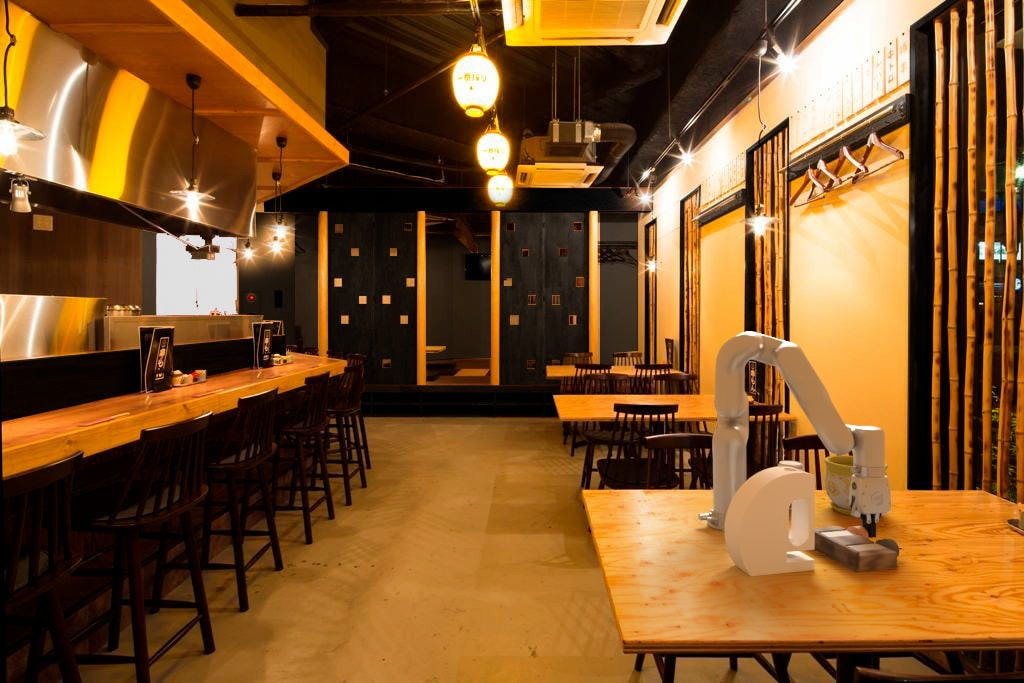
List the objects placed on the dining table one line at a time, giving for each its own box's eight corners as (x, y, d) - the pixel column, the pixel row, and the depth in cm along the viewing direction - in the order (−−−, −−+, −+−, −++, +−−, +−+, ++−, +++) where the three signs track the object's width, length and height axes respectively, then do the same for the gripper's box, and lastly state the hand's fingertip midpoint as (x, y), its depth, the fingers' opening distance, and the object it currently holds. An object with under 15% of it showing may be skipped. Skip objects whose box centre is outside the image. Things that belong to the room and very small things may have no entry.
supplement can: (808, 510, 194) (809, 465, 193) (783, 510, 194) (783, 465, 193) (797, 503, 202) (797, 460, 201) (773, 503, 202) (773, 460, 202)
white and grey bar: (855, 565, 149) (855, 546, 149) (841, 557, 154) (841, 539, 154) (899, 560, 152) (899, 542, 152) (884, 553, 157) (884, 535, 156)
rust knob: (827, 550, 159) (827, 532, 159) (814, 543, 164) (814, 526, 164) (868, 546, 162) (868, 529, 162) (855, 540, 166) (855, 523, 166)
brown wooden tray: (855, 572, 146) (856, 552, 146) (801, 542, 166) (801, 525, 166) (896, 568, 149) (897, 548, 149) (838, 539, 168) (838, 522, 168)
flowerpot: (811, 506, 198) (812, 458, 198) (848, 499, 205) (849, 453, 205) (862, 523, 182) (862, 470, 181) (900, 515, 189) (900, 464, 188)
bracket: (814, 570, 148) (815, 471, 147) (739, 577, 144) (739, 475, 143) (796, 560, 155) (797, 465, 154) (724, 566, 151) (724, 469, 150)
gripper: (856, 476, 159) (856, 543, 159) (903, 472, 161) (903, 538, 162) (835, 469, 166) (836, 533, 166) (881, 466, 169) (881, 529, 169)
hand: (869, 535), depth 164 cm, fingers closed
